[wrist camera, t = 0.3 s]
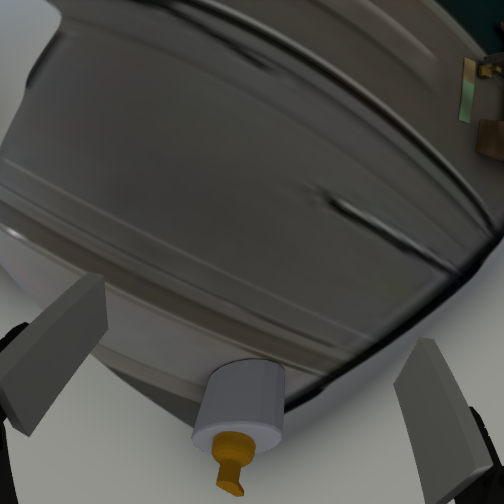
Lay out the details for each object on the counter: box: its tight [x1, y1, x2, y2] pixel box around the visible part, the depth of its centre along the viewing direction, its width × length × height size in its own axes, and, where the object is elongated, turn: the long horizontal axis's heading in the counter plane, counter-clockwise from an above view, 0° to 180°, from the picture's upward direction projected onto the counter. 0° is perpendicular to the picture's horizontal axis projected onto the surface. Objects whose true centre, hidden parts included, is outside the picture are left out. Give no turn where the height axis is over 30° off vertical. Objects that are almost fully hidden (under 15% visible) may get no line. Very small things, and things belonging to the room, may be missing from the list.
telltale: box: [478, 64, 501, 79], centre depth 26 cm, size 2×1×4 cm, turn 172°
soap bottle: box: [191, 359, 285, 496], centre depth 40 cm, size 13×8×20 cm, turn 114°
